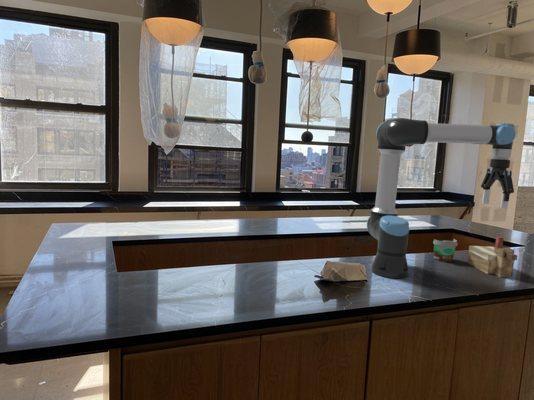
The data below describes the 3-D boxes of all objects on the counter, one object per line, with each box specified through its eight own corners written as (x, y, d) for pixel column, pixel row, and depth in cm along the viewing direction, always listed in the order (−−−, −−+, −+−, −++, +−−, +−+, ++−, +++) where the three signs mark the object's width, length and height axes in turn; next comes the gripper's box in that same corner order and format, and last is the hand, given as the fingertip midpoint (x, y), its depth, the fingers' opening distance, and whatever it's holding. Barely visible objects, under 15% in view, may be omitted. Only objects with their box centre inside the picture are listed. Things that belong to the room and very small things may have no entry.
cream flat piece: (487, 262, 169) (488, 254, 169) (468, 252, 184) (469, 245, 184) (514, 263, 170) (515, 256, 169) (493, 253, 185) (494, 246, 184)
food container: (439, 263, 183) (442, 242, 181) (430, 259, 188) (433, 239, 187) (461, 262, 186) (464, 242, 184) (452, 258, 192) (454, 238, 190)
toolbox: (492, 276, 166) (496, 249, 164) (467, 262, 186) (470, 238, 184) (517, 277, 167) (521, 250, 165) (490, 263, 186) (493, 239, 184)
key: (511, 259, 161) (513, 243, 160) (493, 251, 173) (495, 236, 172) (516, 260, 161) (519, 243, 160) (498, 252, 173) (501, 236, 172)
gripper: (528, 160, 161) (520, 211, 164) (491, 158, 185) (486, 202, 188) (510, 159, 160) (503, 210, 163) (476, 157, 185) (470, 201, 188)
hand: (494, 206), depth 176 cm, fingers open, 13 cm apart
